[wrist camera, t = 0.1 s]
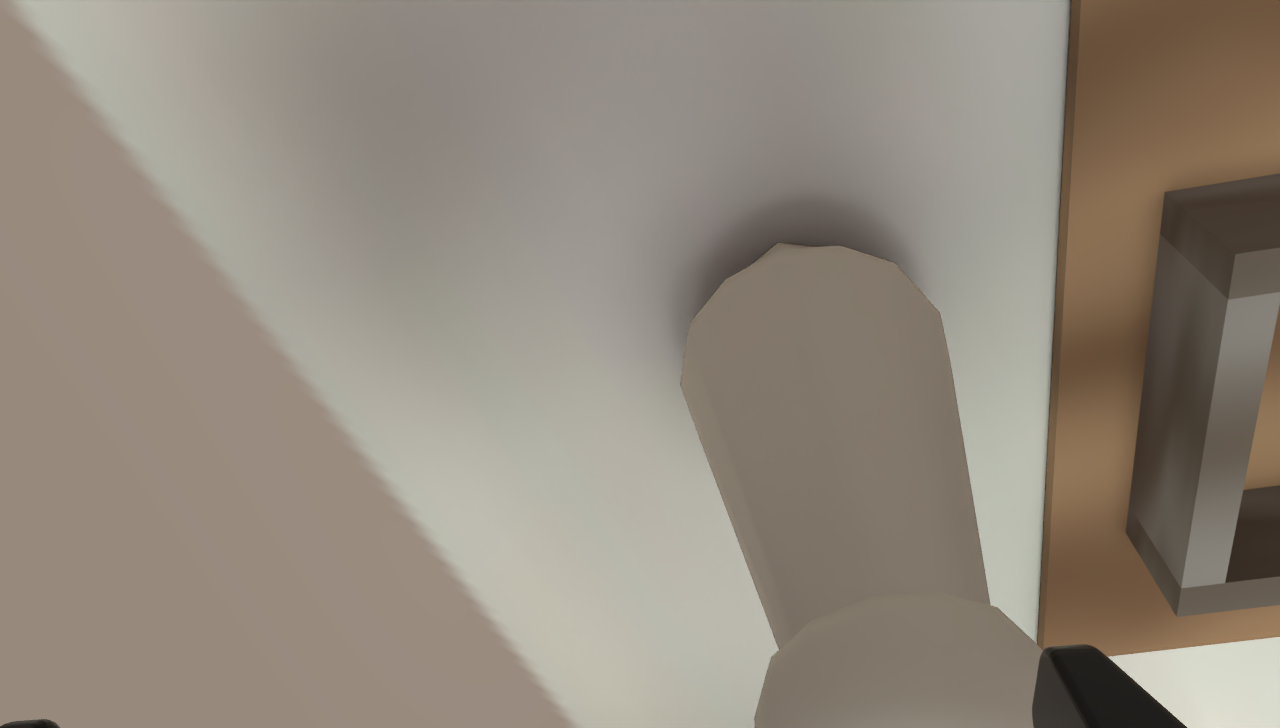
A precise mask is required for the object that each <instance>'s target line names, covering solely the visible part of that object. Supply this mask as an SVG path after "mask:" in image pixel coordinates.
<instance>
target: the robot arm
mask: <svg viewBox="0 0 1280 728" xmlns="http://www.w3.org/2000/svg"><path fill="white" fill-rule="evenodd" d="M1032 720H1033V727H1034V728H1187V727H1186V726H1185V725H1184V724H1182V723H1181V722H1180V721H1179V720H1178V719H1177V718H1176V717H1175V716H1173V715H1172V714H1171V713H1170V712H1169V711H1168V710H1167V709H1166V708H1164V707H1163V706H1162V705H1161V704H1160V703H1159V702H1158V701H1157V700H1155V699H1154V698H1153V697H1152V696H1151V695H1150V694H1149V693H1148V692H1146V691H1145V690H1144V689H1143V688H1142V687H1141V686H1140V685H1138V684H1137V683H1136V682H1135V681H1134V680H1133V679H1132V678H1131V677H1129V676H1128V675H1127V674H1126V673H1125V672H1124V671H1123V670H1122V669H1120V668H1119V667H1118V666H1117V665H1116V664H1115V663H1114V662H1113V661H1111V660H1110V659H1109V658H1108V657H1107V656H1106V655H1105V654H1104V653H1102V652H1101V651H1100V650H1099V649H1097V648H1095V647H1093V646H1091V645H1088V644H1075V645H1062V646H1050V647H1047V648H1045V649H1044V650H1043V652H1042V653H1041V656H1040V659H1039V665H1038V671H1037V678H1036V684H1035V690H1034V697H1033V703H1032ZM0 728H60V727H59V726H58V725H57V724H56V723H55V722H53V721H51V720H47V719H41V720H27V721H15V722H10V723H7V724H4V725H2V726H0Z"/></svg>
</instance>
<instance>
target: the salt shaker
mask: <svg viewBox="0 0 1280 728" xmlns="http://www.w3.org/2000/svg"><path fill="white" fill-rule="evenodd" d="M680 385H681V388H682V391H683V394H684V396H685V399H686V402H687V405H688V407H689V410H690V413H691V416H692V419H693V421H694V424H695V427H696V430H697V432H698V435H699V438H700V440H701V443H702V446H703V448H704V451H705V454H706V456H707V459H708V462H709V464H710V467H711V470H712V472H713V475H714V478H715V480H716V483H717V486H718V488H719V491H720V494H721V496H722V499H723V502H724V504H725V507H726V510H727V512H728V515H729V518H730V520H731V523H732V526H733V528H734V531H735V534H736V536H737V539H738V542H739V544H740V547H741V550H742V552H743V555H744V558H745V560H746V563H747V566H748V568H749V571H750V574H751V576H752V579H753V582H754V584H755V587H756V590H757V592H758V595H759V598H760V600H761V603H762V606H763V608H764V611H765V614H766V616H767V619H768V622H769V624H770V627H771V630H772V632H773V635H774V638H775V640H776V643H777V646H778V648H779V651H778V652H776V653H775V654H774V655H773V656H772V657H771V660H770V663H769V667H768V670H767V673H766V677H765V681H764V684H763V688H762V692H761V695H760V699H759V703H758V707H757V710H756V714H755V728H1034V727H1033V720H1032V703H1033V697H1034V690H1035V684H1036V678H1037V671H1038V665H1039V659H1040V656H1041V653H1042V652H1043V650H1042V649H1041V648H1040V647H1039V646H1038V645H1037V644H1036V643H1035V642H1034V641H1033V640H1032V639H1031V638H1030V637H1029V636H1028V635H1027V634H1025V633H1024V632H1023V631H1022V630H1021V629H1020V628H1019V627H1018V626H1017V625H1016V624H1015V623H1014V622H1013V621H1011V620H1010V619H1009V618H1008V617H1007V616H1006V615H1005V614H1004V613H1003V612H1002V611H1001V610H1000V609H999V608H997V607H994V606H991V605H990V599H989V593H988V587H987V581H986V575H985V569H984V563H983V557H982V551H981V545H980V539H979V533H978V527H977V521H976V515H975V508H974V502H973V496H972V490H971V484H970V478H969V472H968V466H967V460H966V454H965V448H964V442H963V436H962V430H961V424H960V418H959V412H958V405H957V399H956V393H955V387H954V381H953V375H952V369H951V363H950V358H949V353H948V349H947V344H946V339H945V334H944V330H943V325H942V320H941V315H940V312H939V311H938V310H937V309H936V308H935V307H934V305H933V304H932V303H931V302H930V301H929V300H928V299H927V298H926V297H925V296H924V294H923V293H922V292H921V291H920V290H919V289H918V288H917V287H916V286H915V285H914V283H913V282H912V281H911V280H910V279H909V278H908V277H907V276H906V275H905V274H904V272H903V271H902V270H901V269H900V268H899V267H898V266H897V265H896V264H895V263H893V262H890V261H887V260H884V259H881V258H877V257H874V256H871V255H868V254H865V253H862V252H859V251H856V250H853V249H849V248H846V247H843V246H823V247H813V246H804V245H796V244H787V243H777V244H776V245H774V246H773V247H772V248H771V249H769V250H768V251H767V252H766V253H765V254H763V255H762V256H761V257H760V258H759V259H757V260H756V261H755V262H754V263H753V264H751V265H750V266H749V267H747V268H745V269H743V270H741V271H740V272H738V273H736V274H734V275H732V276H731V277H729V278H727V279H725V281H724V282H723V283H722V284H721V285H720V287H719V288H718V289H717V290H716V292H715V293H714V294H713V295H712V297H711V298H710V299H709V300H708V301H707V303H706V304H705V305H704V306H703V308H702V309H701V310H700V311H699V313H698V314H697V315H696V316H695V317H694V319H693V320H692V321H691V323H690V327H689V331H688V335H687V342H686V349H685V355H684V362H683V369H682V376H681V383H680Z"/></svg>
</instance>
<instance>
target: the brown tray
mask: <svg viewBox="0 0 1280 728" xmlns="http://www.w3.org/2000/svg"><path fill="white" fill-rule="evenodd" d="M1272 637H1280V0H1071V17H1070V36H1069V55H1068V74H1067V93H1066V112H1065V131H1064V150H1063V169H1062V187H1061V206H1060V225H1059V244H1058V263H1057V282H1056V301H1055V320H1054V339H1053V358H1052V377H1051V396H1050V415H1049V434H1048V453H1047V472H1046V491H1045V509H1044V528H1043V547H1042V566H1041V585H1040V604H1039V623H1038V642H1037V645H1038V646H1039V647H1040V648H1041V649H1042V650H1044V649H1045V648H1047V647H1050V646H1062V645H1075V644H1088V645H1091V646H1093V647H1095V648H1097V649H1099V650H1100V651H1101V652H1102V653H1104V654H1105V655H1106V656H1116V655H1125V654H1133V653H1142V652H1151V651H1159V650H1168V649H1177V648H1185V647H1194V646H1203V645H1211V644H1220V643H1229V642H1237V641H1246V640H1255V639H1263V638H1272Z"/></svg>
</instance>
